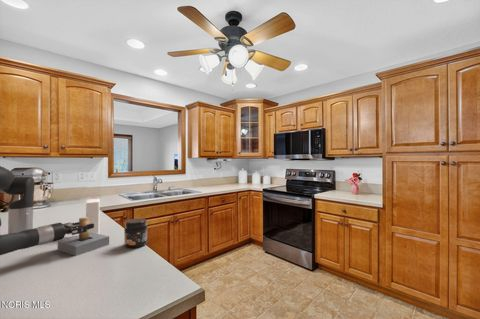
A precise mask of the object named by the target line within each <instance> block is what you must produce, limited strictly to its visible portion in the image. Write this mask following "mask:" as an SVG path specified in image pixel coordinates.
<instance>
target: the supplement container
mask: <svg viewBox="0 0 480 319" xmlns="http://www.w3.org/2000/svg"><path fill="white" fill-rule="evenodd" d="M124 223H125V227H124V229H123V231H124V234H123V235H124V239H123V240H124V241H123V242H124V243H123V244H124V247H125V248H127V249H137V248H140V247H143V246H145V245H147V243H148V224H147V219H146V218H133V219H128V220H126V221H125V222H124Z"/></svg>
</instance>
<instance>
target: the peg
mask: <svg viewBox="0 0 480 319" xmlns="http://www.w3.org/2000/svg"><path fill="white" fill-rule="evenodd" d="M78 222H79V225H88V224H89V217H86V216H85V217H80V218H78ZM81 230H83V228H82V229H81ZM78 236H79V241H85V240H88V239H89V229H88V230H87V232H83V233H79V234H78Z"/></svg>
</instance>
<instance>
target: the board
mask: <svg viewBox="0 0 480 319" xmlns="http://www.w3.org/2000/svg"><path fill="white" fill-rule="evenodd" d="M108 245H110V236H109V235H105V234H101V233H99V234H96V233H92V232H90V233H89V239H88V240H85V241H79V235H77V236H76V235H75V236H72V237H69V238H63V239H62V240H58V241H57V251H60V252H63V253H67V254H69V255H72V256H80V255H83V254H86V253H88V252H91V251H94V250H97V249H101V248H103V247H106V246H108Z"/></svg>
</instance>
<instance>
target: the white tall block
mask: <svg viewBox="0 0 480 319" xmlns="http://www.w3.org/2000/svg"><path fill="white" fill-rule="evenodd" d="M85 202H86V205H85V207H86V208H85V217H89V224H92V223H93V224H94V228H92V229H89V233H90V232H92V233H96V234H100V202H101V200H100V195H88V196H86V201H85Z"/></svg>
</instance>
